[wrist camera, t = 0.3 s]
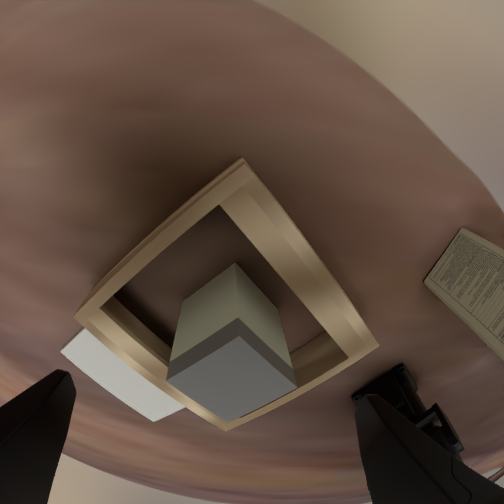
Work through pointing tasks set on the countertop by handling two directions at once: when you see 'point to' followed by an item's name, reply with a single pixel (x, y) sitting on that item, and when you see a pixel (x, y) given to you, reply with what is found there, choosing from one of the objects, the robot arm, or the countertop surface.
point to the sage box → (230, 348)
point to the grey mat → (118, 377)
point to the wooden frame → (280, 258)
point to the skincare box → (473, 286)
